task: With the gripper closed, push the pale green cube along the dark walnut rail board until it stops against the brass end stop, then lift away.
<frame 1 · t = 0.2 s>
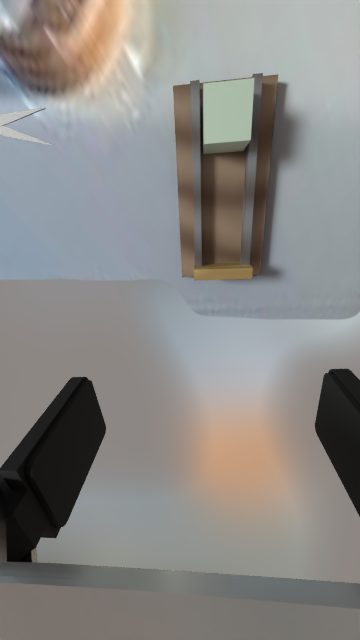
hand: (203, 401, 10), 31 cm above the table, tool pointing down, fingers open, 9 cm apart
track: (221, 193, 33), on the table
pale green cube: (225, 121, 27), point 4 cm above the table, slide at 0.0 cm
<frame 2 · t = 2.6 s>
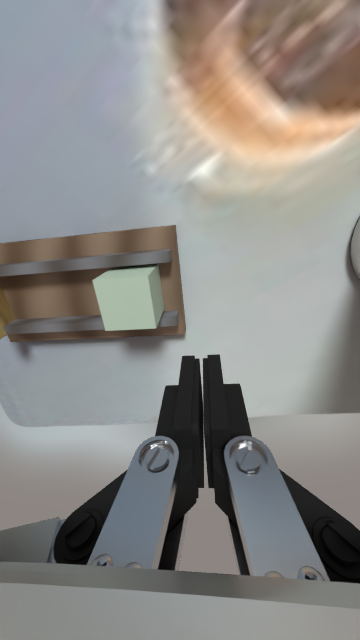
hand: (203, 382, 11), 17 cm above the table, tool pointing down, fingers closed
track: (86, 288, 28), on the table
pale green cube: (132, 296, 24), point 4 cm above the table, slide at 0.0 cm
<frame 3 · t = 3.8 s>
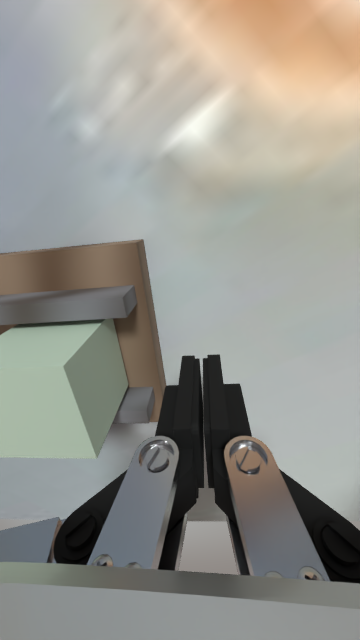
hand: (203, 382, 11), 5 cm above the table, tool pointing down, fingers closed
pale green cube: (58, 379, 12), point 4 cm above the table, slide at 0.0 cm
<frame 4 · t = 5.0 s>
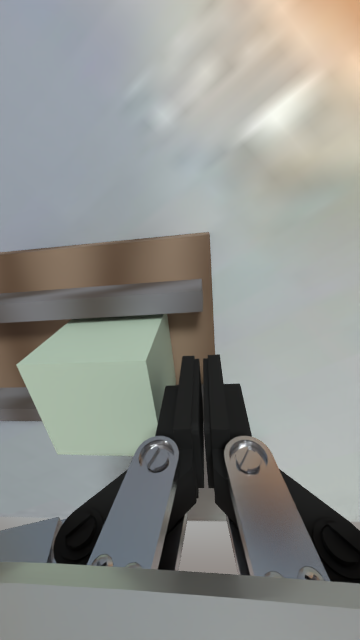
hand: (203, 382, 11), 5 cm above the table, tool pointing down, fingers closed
track: (47, 339, 16), on the table
pale green cube: (116, 375, 12), point 4 cm above the table, slide at 0.5 cm, touching gripper
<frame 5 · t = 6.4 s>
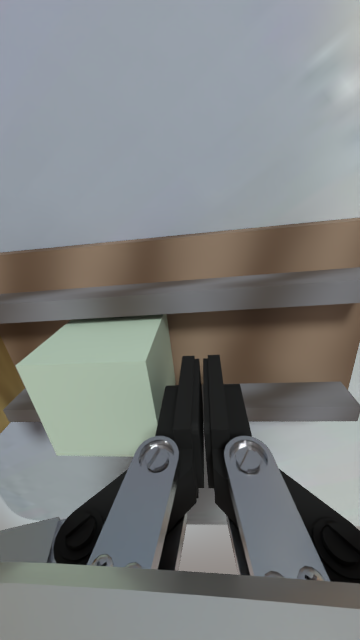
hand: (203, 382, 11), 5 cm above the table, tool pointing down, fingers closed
track: (156, 334, 15), on the table
pale green cube: (115, 375, 12), point 4 cm above the table, slide at 8.3 cm, touching gripper
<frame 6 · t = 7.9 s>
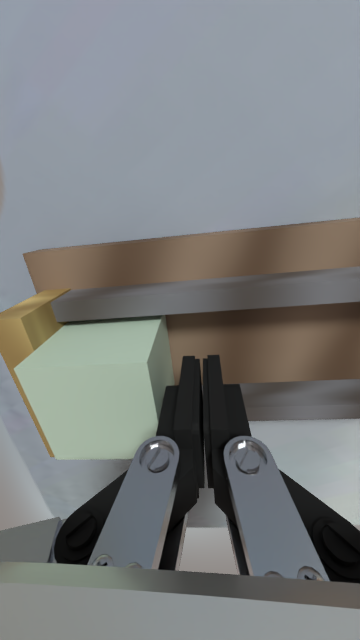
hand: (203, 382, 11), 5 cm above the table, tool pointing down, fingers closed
track: (243, 330, 15), on the table
pale green cube: (115, 377, 12), point 4 cm above the table, slide at 14.0 cm, touching gripper, track
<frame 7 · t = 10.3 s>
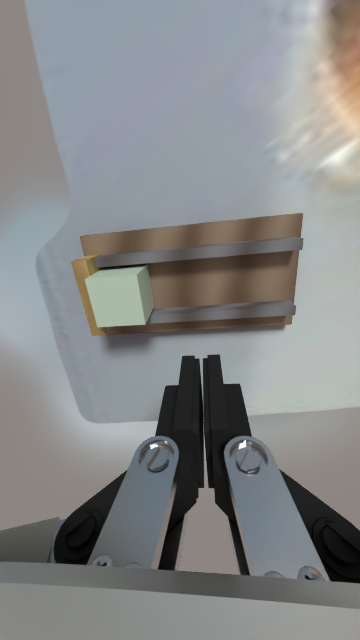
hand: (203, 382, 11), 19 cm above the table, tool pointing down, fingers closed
track: (190, 279, 28), on the table
pale green cube: (123, 294, 25), point 4 cm above the table, slide at 14.0 cm, touching track
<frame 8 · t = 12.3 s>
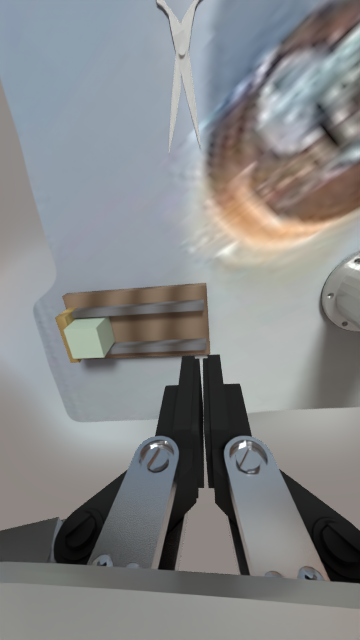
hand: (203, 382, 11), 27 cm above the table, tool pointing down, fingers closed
scissors: (180, 47, 26), on the table
track: (140, 322, 40), on the table
pale green cube: (91, 335, 37), point 4 cm above the table, slide at 14.0 cm, touching track
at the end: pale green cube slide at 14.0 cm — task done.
